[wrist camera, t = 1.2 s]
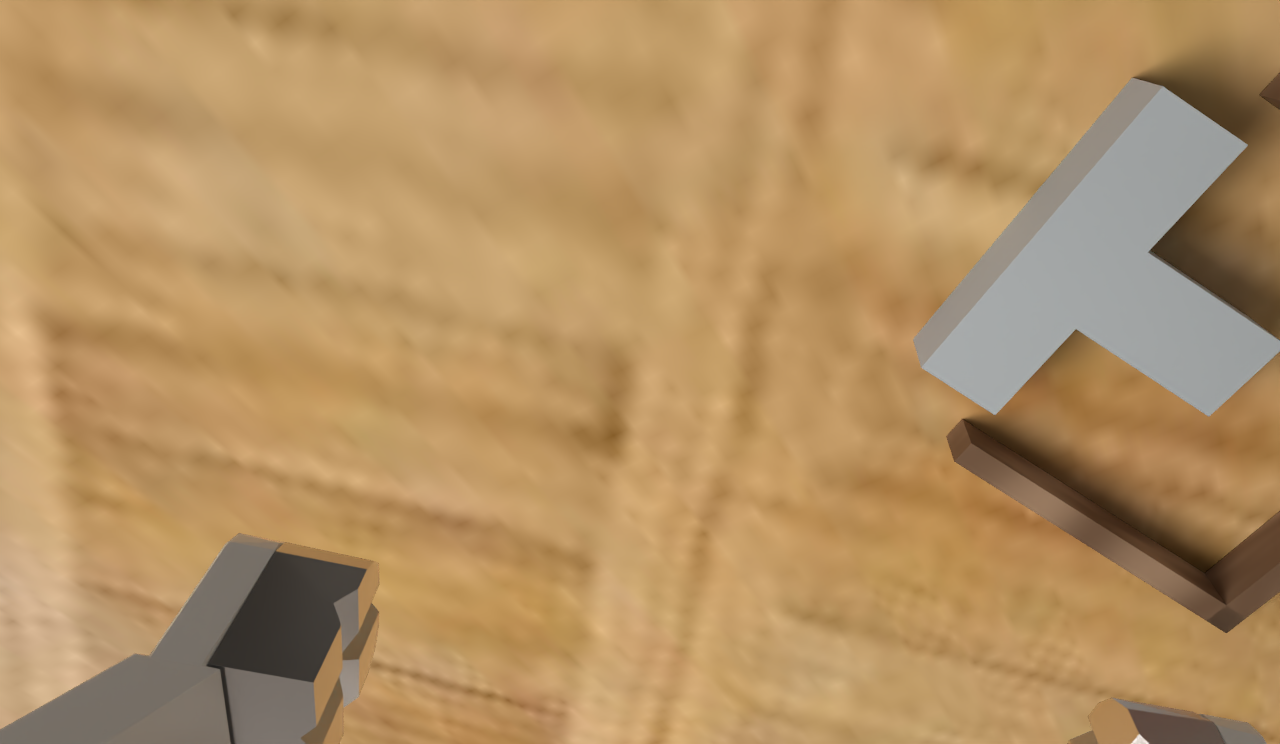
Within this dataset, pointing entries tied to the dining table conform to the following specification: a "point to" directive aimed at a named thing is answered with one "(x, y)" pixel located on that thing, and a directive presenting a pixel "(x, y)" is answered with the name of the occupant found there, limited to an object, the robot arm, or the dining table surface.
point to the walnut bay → (1217, 596)
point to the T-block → (1103, 267)
